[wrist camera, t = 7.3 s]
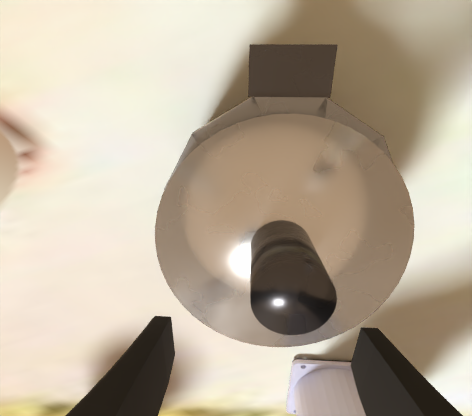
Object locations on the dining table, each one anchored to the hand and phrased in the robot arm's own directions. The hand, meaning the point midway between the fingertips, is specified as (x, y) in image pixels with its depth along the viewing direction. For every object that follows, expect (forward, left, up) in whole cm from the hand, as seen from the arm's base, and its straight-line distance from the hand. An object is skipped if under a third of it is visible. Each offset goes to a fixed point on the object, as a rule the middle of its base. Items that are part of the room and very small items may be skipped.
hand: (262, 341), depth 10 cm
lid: (-1, -2, -6) cm, 6 cm away
